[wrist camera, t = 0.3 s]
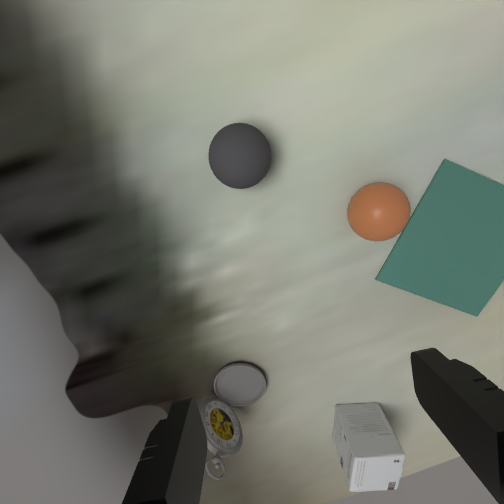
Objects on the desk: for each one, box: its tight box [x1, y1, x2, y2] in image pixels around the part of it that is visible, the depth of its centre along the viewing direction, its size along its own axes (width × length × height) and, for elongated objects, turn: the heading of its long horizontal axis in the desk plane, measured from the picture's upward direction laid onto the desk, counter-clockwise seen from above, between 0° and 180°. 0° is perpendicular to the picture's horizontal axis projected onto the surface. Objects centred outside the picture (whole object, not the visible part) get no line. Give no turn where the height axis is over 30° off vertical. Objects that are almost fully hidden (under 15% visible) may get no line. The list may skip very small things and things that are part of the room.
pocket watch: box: [199, 363, 266, 480], centre depth 33 cm, size 8×8×10 cm
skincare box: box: [332, 403, 406, 492], centre depth 37 cm, size 6×6×7 cm
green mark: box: [376, 159, 504, 316], centre depth 32 cm, size 14×14×1 cm
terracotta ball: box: [348, 183, 410, 241], centre depth 28 cm, size 6×6×6 cm
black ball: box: [209, 123, 271, 189], centre depth 26 cm, size 6×6×6 cm
